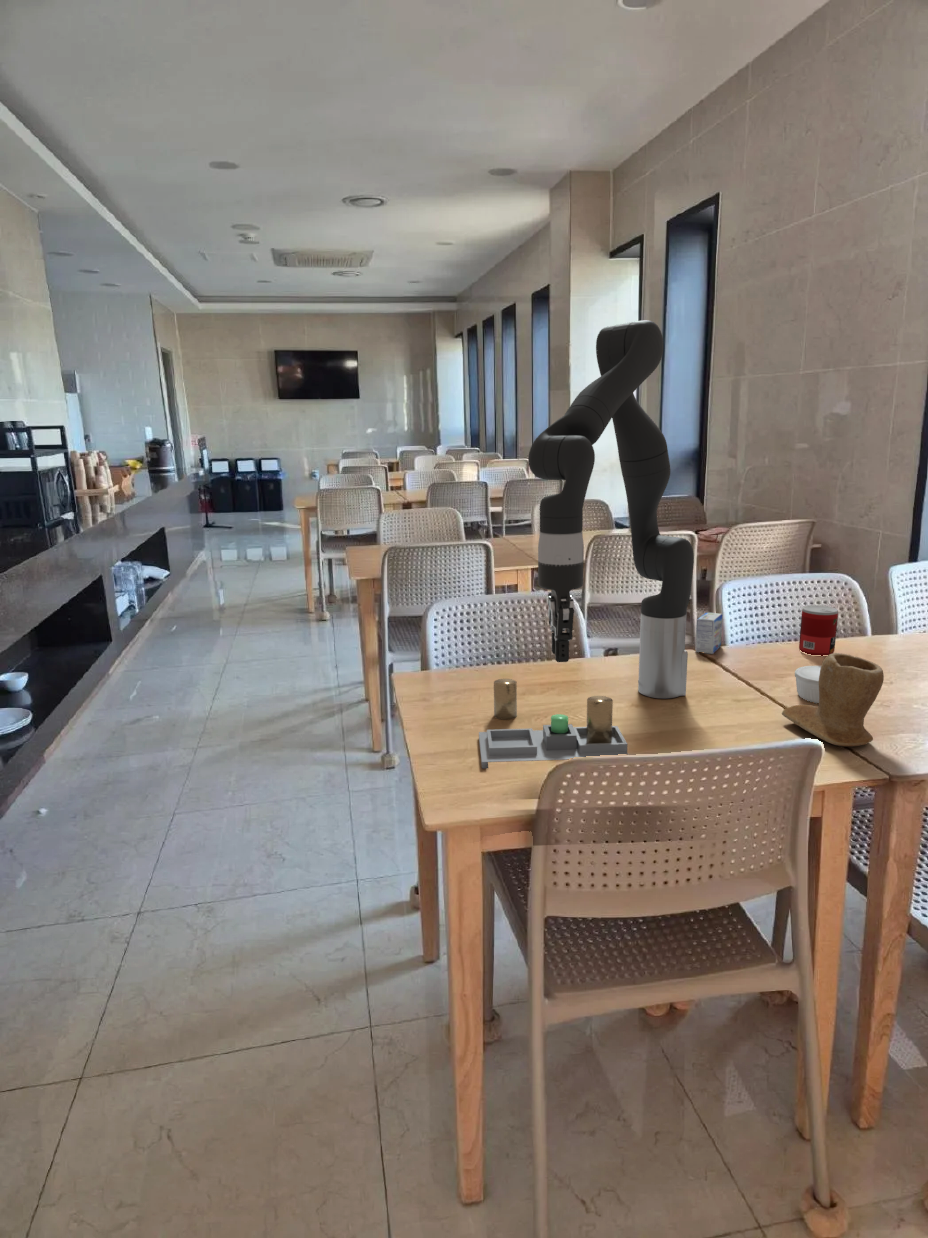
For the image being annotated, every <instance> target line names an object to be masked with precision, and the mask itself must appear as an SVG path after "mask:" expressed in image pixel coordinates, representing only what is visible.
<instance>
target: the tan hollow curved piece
mask: <svg viewBox="0 0 928 1238" xmlns="http://www.w3.org/2000/svg"><path fill="white" fill-rule="evenodd" d="M820 666H821V669H820V675H819V704H818V706H815V705H811V704H797V705H796V704H795V705H792V706H789V707H786V708H785V709H783V710H782V712H781V715H782V716H783V717H784V718H786V719H787V720H789V721H790V722H792V723H793V724H795V725H797V726H798V727H800V728H802V729H803V730H805V731H806V732H808V733H809V734H811V735H814V736H815V737H817V738H818V739H821V740H823V741H824V742H826V743H829V744H830V745H831V744H832V745H834V746H839V747H858V746H859V747H860V746H864V745H867V744H869V743H872V742H873V740H874V738H873V735H871V733H870V732H869V731H868V730H867V728H865V726H864V723H865V718H866V716H867V714H868V712H869V710H870V709H871V708H872V706H873V704H874V703H875V701H876V699H877V697H878V695H879V694H880V691H881V689H882V687H883V683H884V677H885V676H884V670H883V668H882V667H881V666H880V665H879V664H877V663H876V662H873V661H870V660H867V659H864V658H861V657H859V656H854V655H851V654H847V653H840V652H834V653H832V654H830V655H828V656H825V657H824V659H823V661H822V663H821V665H820Z"/></svg>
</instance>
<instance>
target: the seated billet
mask: <svg viewBox="0 0 928 1238" xmlns="http://www.w3.org/2000/svg"><path fill="white" fill-rule="evenodd" d="M613 703H614V700H613V699H612V698H611V697H609V696H606V695H592V696H589V697H588V698H587V699H586V727H587V736H586V743H587V744H598V743H612V726H613V709H614V708H613V705H614V704H613Z"/></svg>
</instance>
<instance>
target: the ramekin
mask: <svg viewBox="0 0 928 1238" xmlns="http://www.w3.org/2000/svg"><path fill="white" fill-rule="evenodd" d="M821 666H822V665H805V666H804V665H803V666H800V667H798V668H796V670H795V671H794V678H795V684H796V685H795V686H796V692H797V694H798V696H799V697H800V698H801V699H802V698H803V700H804V699H805V700H804V701H806V700H807V702H809V701H810V703H812V702H814V703H813V704H817V703H819V675H820V669H821Z"/></svg>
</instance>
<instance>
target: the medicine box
mask: <svg viewBox="0 0 928 1238" xmlns="http://www.w3.org/2000/svg"><path fill="white" fill-rule="evenodd" d="M695 623H696V625H695V649H694V650H696V651H695V653H699V652H704V653H703V654H706V655H707V654H709V655H713V654H715V653H716V651H718V649H719V648H720V647H722V631H723V630H722V629H723V613H720V612H719V613H718V612H717V613H715V612H704V614H702V615H701V616H700V617H698V618H697V619H696V622H695Z"/></svg>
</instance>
